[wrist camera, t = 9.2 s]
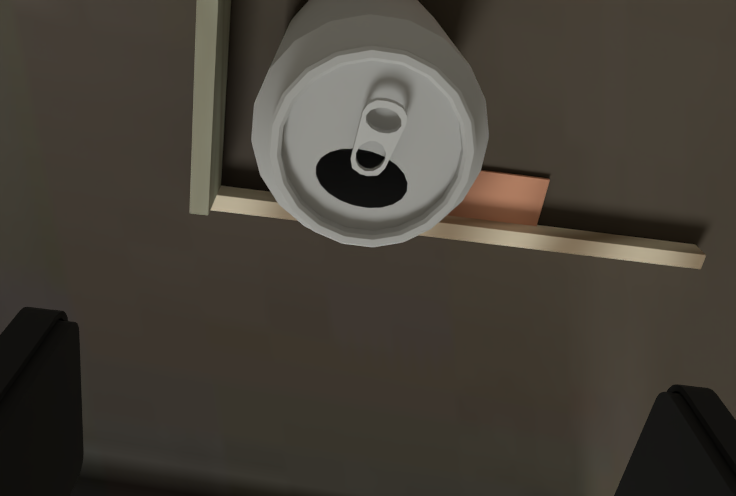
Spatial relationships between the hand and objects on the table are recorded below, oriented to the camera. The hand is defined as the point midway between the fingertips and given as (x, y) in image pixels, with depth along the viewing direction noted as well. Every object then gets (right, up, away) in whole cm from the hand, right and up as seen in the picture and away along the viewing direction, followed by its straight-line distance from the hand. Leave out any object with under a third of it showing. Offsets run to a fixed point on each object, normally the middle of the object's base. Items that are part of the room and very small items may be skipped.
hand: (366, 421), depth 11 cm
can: (0, +11, +20) cm, 23 cm away
